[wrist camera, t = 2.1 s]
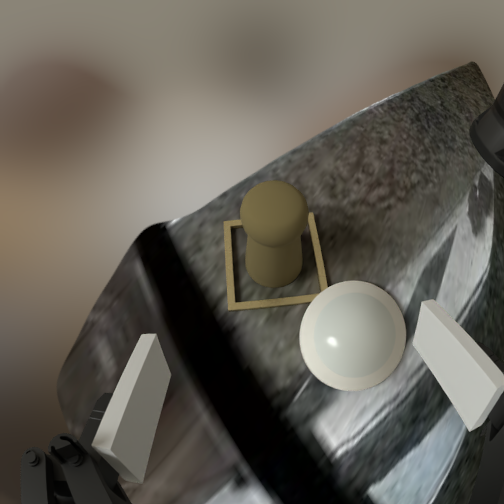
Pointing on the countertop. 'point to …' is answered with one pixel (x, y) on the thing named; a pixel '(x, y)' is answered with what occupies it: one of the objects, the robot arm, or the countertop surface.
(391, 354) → the saucer
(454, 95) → the countertop surface
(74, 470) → the robot arm
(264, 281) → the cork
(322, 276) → the square frame
